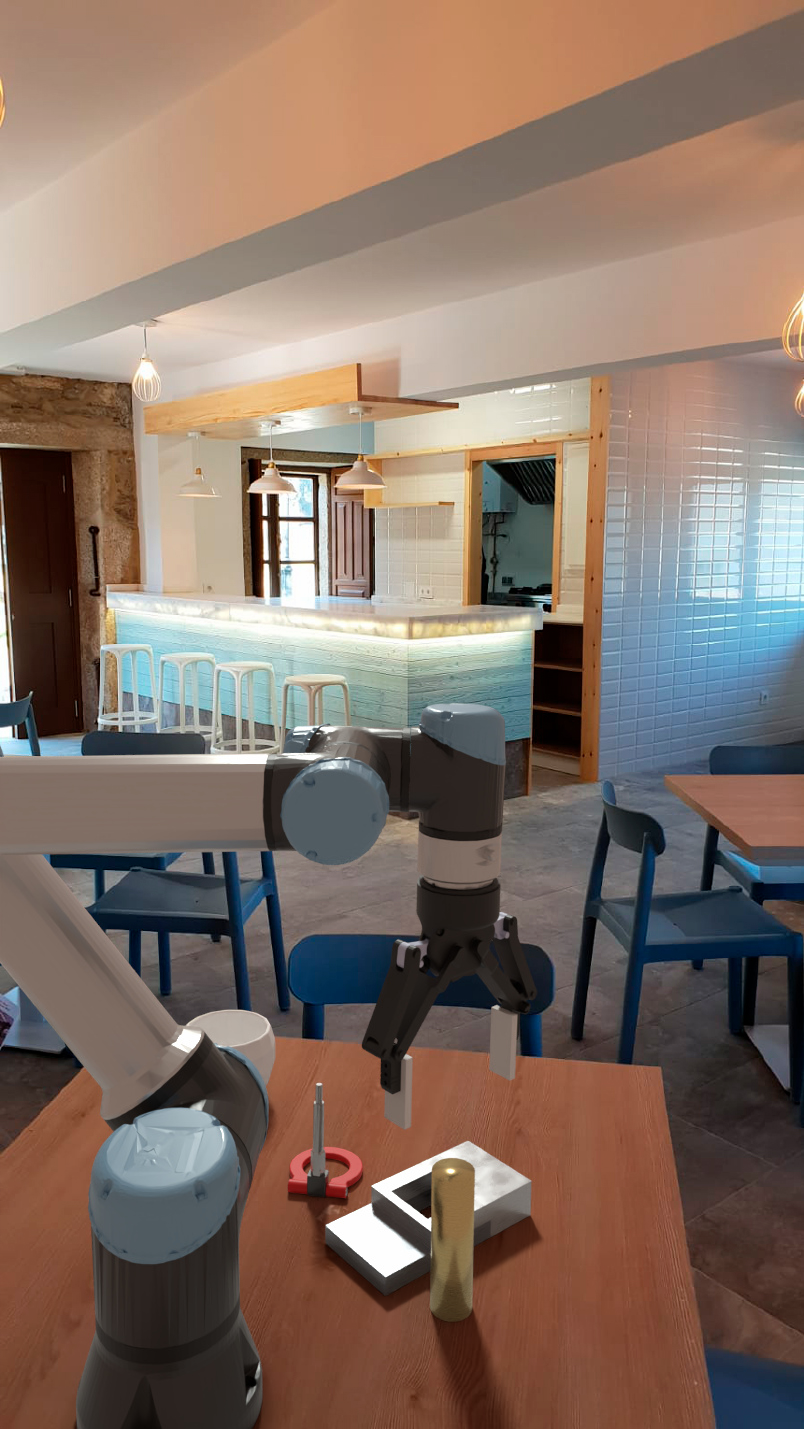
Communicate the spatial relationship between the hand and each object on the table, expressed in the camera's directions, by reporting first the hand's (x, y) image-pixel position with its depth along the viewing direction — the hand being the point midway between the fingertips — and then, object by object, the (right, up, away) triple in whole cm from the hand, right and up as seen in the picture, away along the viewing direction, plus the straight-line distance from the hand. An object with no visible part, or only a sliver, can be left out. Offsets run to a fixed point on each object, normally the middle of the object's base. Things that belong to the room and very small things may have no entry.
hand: (452, 1097), depth 97 cm
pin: (0, -21, +2) cm, 21 cm away
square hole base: (-2, -19, +13) cm, 23 cm away
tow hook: (-14, -18, +23) cm, 32 cm away
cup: (-27, -15, +40) cm, 51 cm away
